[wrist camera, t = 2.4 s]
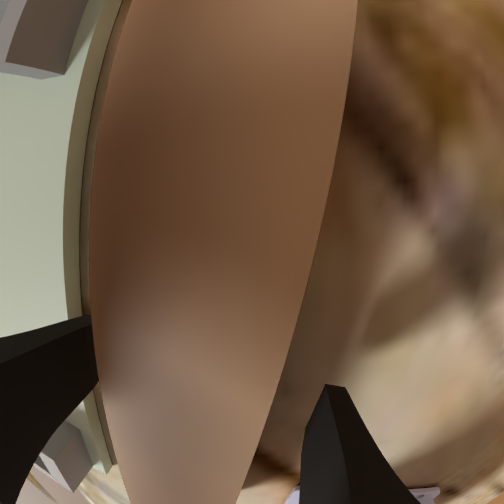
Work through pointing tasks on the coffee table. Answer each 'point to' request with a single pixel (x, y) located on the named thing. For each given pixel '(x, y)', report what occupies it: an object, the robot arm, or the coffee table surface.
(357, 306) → the coffee table surface
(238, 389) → the slat
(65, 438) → the end cap cradle
